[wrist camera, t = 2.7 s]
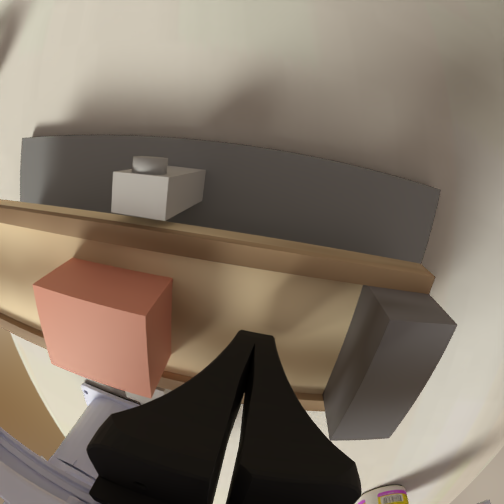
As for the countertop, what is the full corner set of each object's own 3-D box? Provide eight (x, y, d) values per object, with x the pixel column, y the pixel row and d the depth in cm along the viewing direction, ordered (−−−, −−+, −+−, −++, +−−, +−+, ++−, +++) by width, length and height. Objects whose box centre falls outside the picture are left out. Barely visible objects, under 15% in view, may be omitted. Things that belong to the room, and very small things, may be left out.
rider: (171, 354, 13) (151, 398, 10) (81, 329, 13) (51, 363, 10) (172, 278, 12) (145, 316, 9) (72, 257, 12) (32, 284, 9)
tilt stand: (359, 393, 19) (370, 454, 13) (42, 313, 21) (1, 346, 15) (432, 187, 14) (491, 206, 9) (31, 137, 16) (-28, 142, 10)
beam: (365, 393, 14) (382, 447, 11) (3, 312, 15) (-31, 340, 11) (420, 263, 12) (466, 305, 8) (-14, 197, 12) (-61, 213, 8)
